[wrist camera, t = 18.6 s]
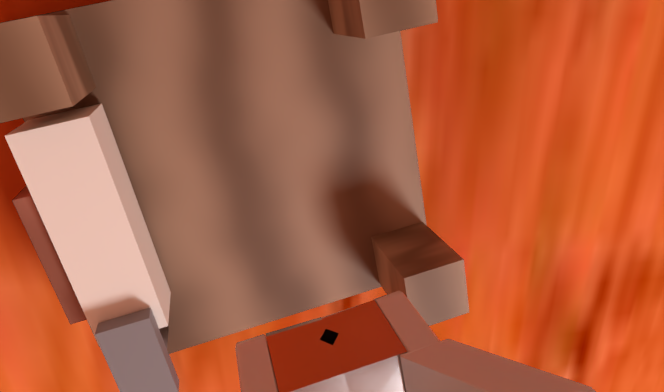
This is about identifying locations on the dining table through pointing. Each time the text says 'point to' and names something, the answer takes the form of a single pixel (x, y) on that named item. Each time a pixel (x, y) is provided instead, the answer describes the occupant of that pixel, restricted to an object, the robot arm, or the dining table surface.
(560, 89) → the dining table surface
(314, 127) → the stool board
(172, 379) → the hinged leg
